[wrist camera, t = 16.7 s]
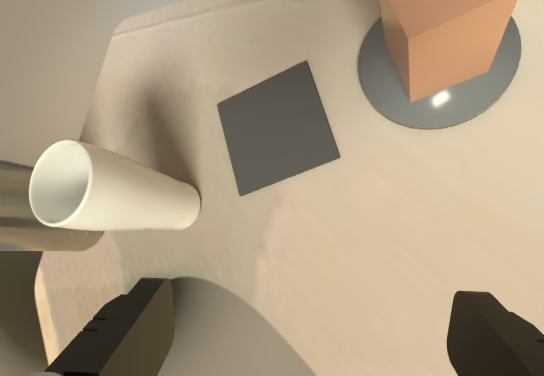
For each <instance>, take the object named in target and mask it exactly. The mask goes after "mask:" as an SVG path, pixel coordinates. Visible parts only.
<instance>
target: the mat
mask: <svg viewBox="0 0 544 376" xmlns="http://www.w3.org/2000/svg"><path fill="white" fill-rule="evenodd" d="M217 107H218V111H219V115H220V119H221V123H222V127H223V131H224V135H225V139H226V143H227V147H228V151H229V155H230V159H231V163H232V167H233V171H234V175H235V179H236V183H237V187H238V191H239V195H240V196H243V195H246V194H248V193H251V192H253V191H256V190H258V189H261V188H264V187H266V186H269V185H271V184H274V183H276V182H279V181H282V180H284V179H287V178H289V177H292V176H295V175H297V174H300V173H302V172H305V171H307V170H310V169H313V168H315V167H318V166H320V165H323V164H325V163H328V162H331V161H333V160H336V159H338V158H340V155H339V152H338V149H337V146H336V143H335V140H334V138H333V135H332V132H331V129H330V126H329V123H328V120H327V118H326V115H325V112H324V109H323V106H322V103H321V100H320V98H319V95H318V92H317V89H316V86H315V83H314V80H313V78H312V75H311V72H310V69H309V66H308V63H307V61H306V62H304V63H302V64H300V65H298V66H296V67H294V68H292V69H289V70H287V71H285V72H283V73H281V74H279V75H277V76H275V77H273V78H271V79H269V80H267V81H265V82H263V83H261V84H259V85H257V86H255V87H253V88H251V89H249V90H247V91H245V92H243V93H241V94H239V95H237V96H235V97H233V98H231V99H229V100H227V101H225V102H223V103H221V104H218V105H217Z"/></svg>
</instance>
